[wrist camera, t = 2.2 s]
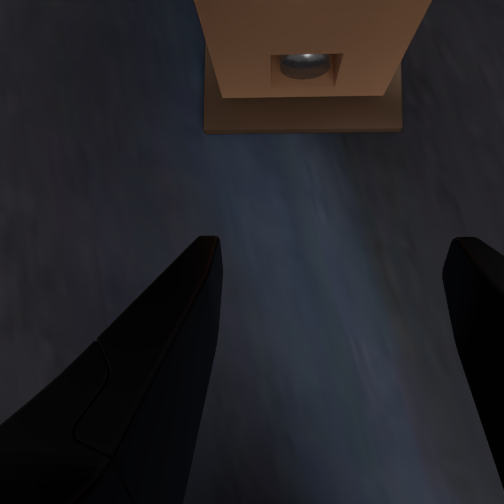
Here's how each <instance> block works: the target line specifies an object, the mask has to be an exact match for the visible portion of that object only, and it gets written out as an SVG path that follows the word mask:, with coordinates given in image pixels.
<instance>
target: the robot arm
mask: <svg viewBox="0 0 504 504" xmlns="http://www.w3.org/2000/svg"><path fill="white" fill-rule="evenodd" d="M442 279H443V284H444V289H445V294H446V299H447V304H448V309H449V314H450V320H451V325H452V330H453V335H454V339H455V343H456V347H457V350H458V354H459V357H460V360H461V363H462V366H463V369H464V372H465V375H466V378H467V381H468V384H469V387H470V390H471V393H472V396H473V399H474V402H475V405H476V408H477V411H478V414H479V417H480V420H481V423H482V426H483V429H484V432H485V435H486V438H487V441H488V444H489V447H490V450H491V453H492V456H493V459H494V462H495V465H496V468H497V471H498V474H499V477H500V480H501V483H502V486H503V489H504V256H503V255H502V254H500V253H499V252H497V251H496V250H494V249H493V248H492V247H490V246H489V245H487V244H486V243H484V242H483V241H481V240H480V239H478V238H476V237H456V238H454V239H453V240H452V242H451V244H450V247H449V250H448V254H447V257H446V260H445V263H444V267H443V272H442ZM222 281H223V264H222V254H221V244H220V239H219V237H218V236H199V237H198V238H197V239H196V240H195V241H194V242H193V243H192V244H191V245H190V246H189V247H188V248H187V249H186V250H185V251H184V252H183V253H182V254H181V255H180V256H179V257H178V258H177V259H176V260H175V261H174V262H173V263H172V264H171V265H170V266H169V267H168V268H167V269H166V270H165V271H164V272H163V273H162V274H161V275H160V276H159V277H158V278H157V279H156V280H155V281H154V282H153V283H152V284H151V285H150V286H149V287H148V288H147V289H146V290H145V291H144V292H143V293H142V294H141V295H140V296H139V297H138V298H137V299H136V300H135V301H134V302H133V303H132V304H131V305H130V306H129V307H128V308H127V309H126V310H125V311H124V312H123V313H122V314H121V315H120V316H119V317H118V318H117V319H116V320H115V321H114V322H113V323H112V324H111V325H110V326H109V327H108V328H107V329H106V330H105V331H104V332H103V333H102V334H101V335H100V336H99V337H98V338H97V341H94V342H93V343H92V344H91V345H90V346H89V347H88V348H87V349H86V350H85V351H84V352H83V353H82V354H81V355H80V356H79V357H78V358H77V359H76V360H74V361H73V362H72V363H71V364H70V365H69V366H68V367H67V368H66V369H65V370H64V371H63V372H62V373H61V374H60V375H59V376H58V377H56V378H55V379H54V380H53V381H52V382H51V383H49V384H48V385H47V386H46V387H45V388H44V389H43V390H41V391H40V392H39V393H38V394H37V395H36V396H35V397H33V398H32V399H31V400H30V401H29V402H27V403H26V404H25V405H24V406H23V407H21V408H20V409H19V410H18V411H17V412H15V413H14V414H13V415H12V416H11V417H9V418H8V419H7V420H6V421H5V422H3V423H2V424H1V425H0V504H183V501H184V496H185V492H186V487H187V482H188V477H189V473H190V468H191V463H192V459H193V454H194V449H195V445H196V440H197V435H198V431H199V426H200V421H201V417H202V412H203V407H204V403H205V398H206V393H207V388H208V384H209V379H210V374H211V370H212V365H213V360H214V356H215V351H216V345H217V340H218V331H219V319H220V306H221V294H222Z"/></svg>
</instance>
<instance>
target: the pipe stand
mask: <svg viewBox="0 0 504 504" xmlns="http://www.w3.org/2000/svg"><path fill="white" fill-rule="evenodd" d="M401 129H402V86H401V62H400V64H399V66H398V68H397V70H396V72H395V74H394V76H393V78H392V79H391V81H390V83H389V85H388V87H387V89H386V91H385V93H384V95H383V96H324V97H261V98H222V95H221V91H220V88H219V84H218V81H217V78H216V74H215V71H214V67H213V64H212V60H211V57H210V54H209V50H208V47H207V43H206V46H205V90H204V132H205V134H261V133H351V132H400V130H401Z"/></svg>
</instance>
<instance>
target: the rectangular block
mask: <svg viewBox="0 0 504 504" xmlns="http://www.w3.org/2000/svg"><path fill="white" fill-rule="evenodd" d="M431 1H432V0H194V2H195V6H196V9H197V12H198V16H199V19H200V23H201V26H202V30H203V33H204V36H205V40H206V43H207V47H208V50H209V54H210V57H211V60H212V64H213V67H214V71H215V74H216V78H217V81H218V84H219V88H220V91H221V95H222V98H261V97H324V96H383V95H384V93H385V91H386V89H387V87H388V85H389V83H390V81H391V79H392V78H393V76H394V74H395V72H396V70H397V68H398V66H399V64H400V62H401V60H402V58H403V56H404V54H405V52H406V50H407V48H408V46H409V44H410V42H411V40H412V38H413V36H414V34H415V32H416V31H417V29H418V27H419V25H420V23H421V21H422V19H423V17H424V15H425V13H426V11H427V9H428V7H429V5H430V3H431ZM294 54H330V68H329V70H328V71H327V72H326V73H325V74H323V75H322V76H319V77H317V78H313V79H305V80H300V79H293V78H289V77H287V76H285V75H284V74H282V72H281V71H280V55H294Z"/></svg>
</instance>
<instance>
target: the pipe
mask: <svg viewBox="0 0 504 504" xmlns="http://www.w3.org/2000/svg"><path fill="white" fill-rule="evenodd" d="M329 68H330V54H294V55H280V71H281V72H282V74H284V75H285V76H287V77H289V78H293V79H300V80H305V79H313V78H317V77H319V76H322V75H323V74H325V73H326V72H327V71H328V70H329Z"/></svg>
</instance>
